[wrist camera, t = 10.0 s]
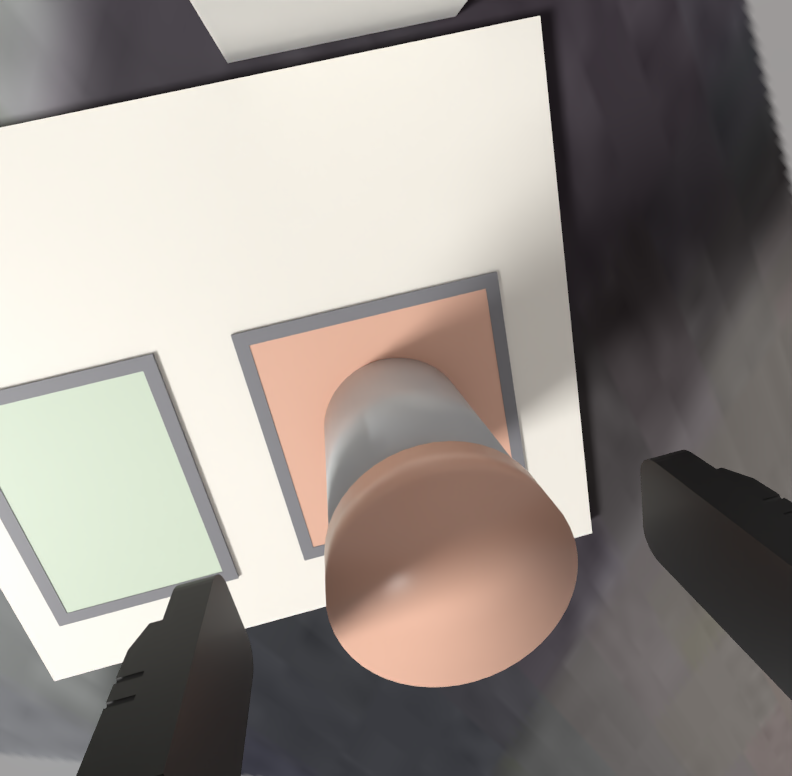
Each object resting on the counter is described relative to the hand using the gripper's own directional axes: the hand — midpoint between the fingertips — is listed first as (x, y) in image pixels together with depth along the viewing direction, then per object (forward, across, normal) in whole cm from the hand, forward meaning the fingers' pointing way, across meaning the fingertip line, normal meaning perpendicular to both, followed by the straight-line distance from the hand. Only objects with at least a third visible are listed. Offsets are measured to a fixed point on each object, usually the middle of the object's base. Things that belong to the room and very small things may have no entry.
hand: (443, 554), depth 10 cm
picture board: (+8, +4, -2) cm, 9 cm away
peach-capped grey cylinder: (+7, 0, 0) cm, 7 cm away
